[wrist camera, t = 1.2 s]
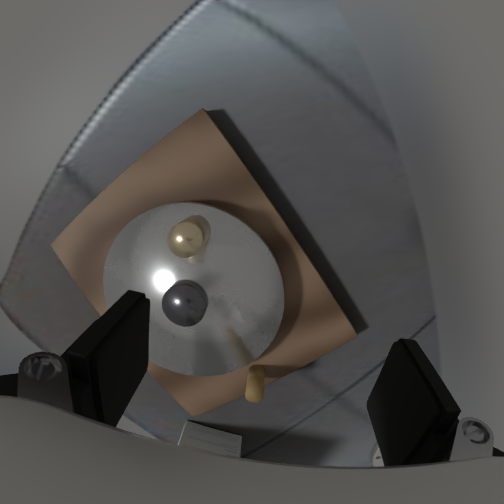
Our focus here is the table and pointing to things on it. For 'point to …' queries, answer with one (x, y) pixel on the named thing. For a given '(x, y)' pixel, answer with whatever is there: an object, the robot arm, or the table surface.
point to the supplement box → (210, 440)
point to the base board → (237, 202)
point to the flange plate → (199, 286)
